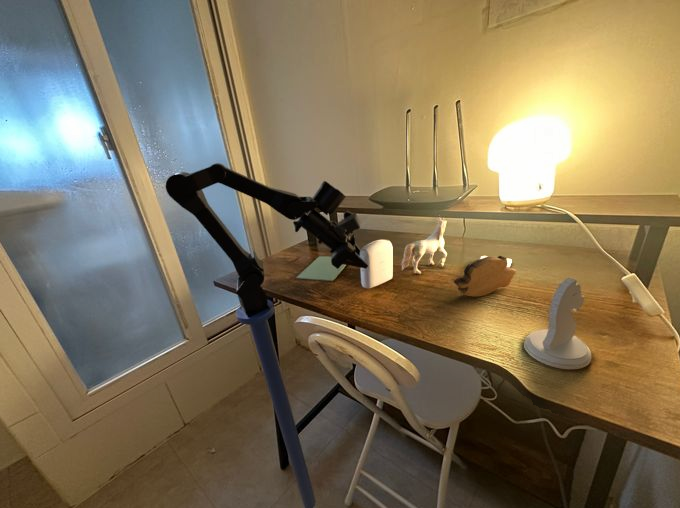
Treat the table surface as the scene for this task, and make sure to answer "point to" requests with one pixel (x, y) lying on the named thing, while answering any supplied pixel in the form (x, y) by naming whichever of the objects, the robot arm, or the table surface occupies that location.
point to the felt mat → (321, 270)
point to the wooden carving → (485, 276)
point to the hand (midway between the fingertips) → (366, 263)
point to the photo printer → (377, 263)
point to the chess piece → (561, 332)
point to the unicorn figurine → (426, 248)
